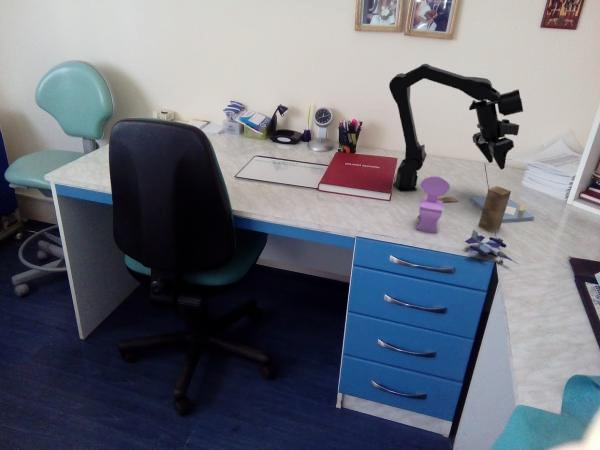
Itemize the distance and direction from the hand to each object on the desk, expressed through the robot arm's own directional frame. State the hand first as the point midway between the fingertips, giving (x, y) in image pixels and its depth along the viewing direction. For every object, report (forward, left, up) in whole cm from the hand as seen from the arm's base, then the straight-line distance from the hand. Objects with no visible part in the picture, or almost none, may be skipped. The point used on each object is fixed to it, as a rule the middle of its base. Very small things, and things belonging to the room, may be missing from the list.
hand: (496, 165), depth 152 cm
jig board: (+2, -5, -14) cm, 15 cm away
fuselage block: (-9, -15, -14) cm, 22 cm away
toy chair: (-28, -11, -14) cm, 33 cm away
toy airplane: (-19, -30, -14) cm, 38 cm away
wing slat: (-14, +4, -14) cm, 20 cm away
